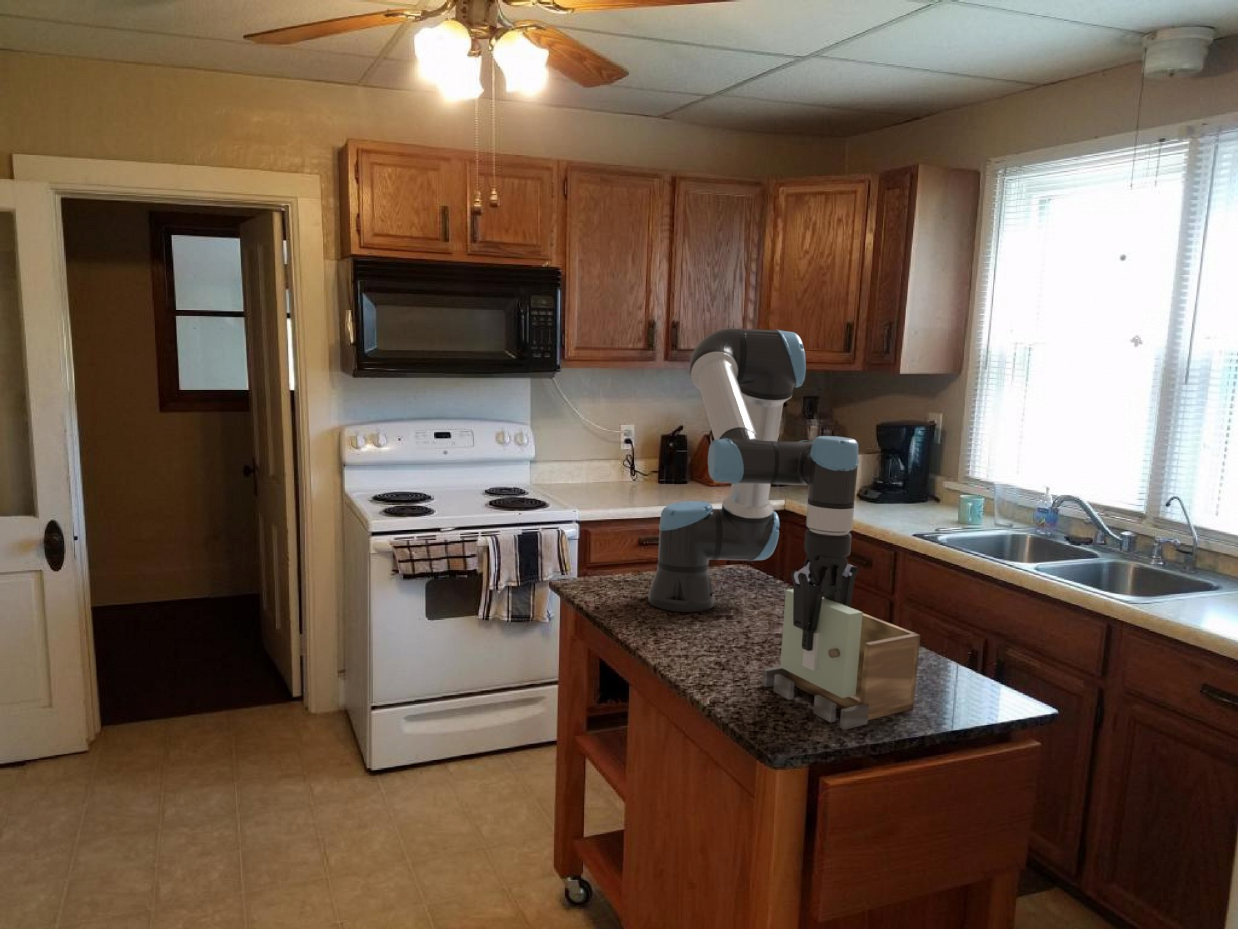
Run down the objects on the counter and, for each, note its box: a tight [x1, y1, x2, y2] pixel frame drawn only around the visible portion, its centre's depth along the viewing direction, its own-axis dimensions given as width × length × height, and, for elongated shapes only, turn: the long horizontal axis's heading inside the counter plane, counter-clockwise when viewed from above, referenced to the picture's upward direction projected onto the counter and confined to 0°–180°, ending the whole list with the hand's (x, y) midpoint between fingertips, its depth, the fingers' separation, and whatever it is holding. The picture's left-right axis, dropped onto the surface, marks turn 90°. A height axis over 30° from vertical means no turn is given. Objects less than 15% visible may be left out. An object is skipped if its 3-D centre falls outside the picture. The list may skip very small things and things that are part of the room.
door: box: [779, 588, 864, 698], centre depth 149 cm, size 15×4×14 cm, turn 31°
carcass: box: [761, 612, 921, 731], centre depth 153 cm, size 20×17×13 cm
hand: (817, 666), depth 150 cm, fingers closed on door, 3 cm apart
